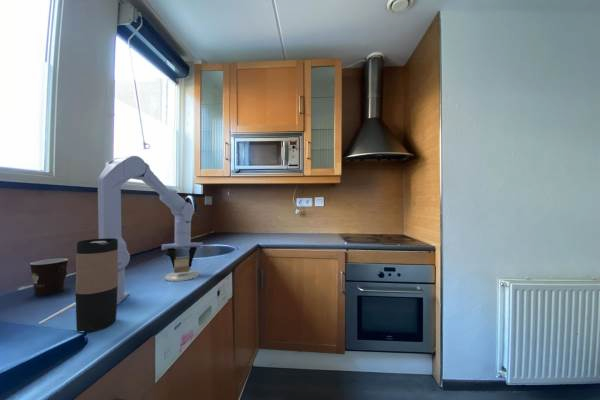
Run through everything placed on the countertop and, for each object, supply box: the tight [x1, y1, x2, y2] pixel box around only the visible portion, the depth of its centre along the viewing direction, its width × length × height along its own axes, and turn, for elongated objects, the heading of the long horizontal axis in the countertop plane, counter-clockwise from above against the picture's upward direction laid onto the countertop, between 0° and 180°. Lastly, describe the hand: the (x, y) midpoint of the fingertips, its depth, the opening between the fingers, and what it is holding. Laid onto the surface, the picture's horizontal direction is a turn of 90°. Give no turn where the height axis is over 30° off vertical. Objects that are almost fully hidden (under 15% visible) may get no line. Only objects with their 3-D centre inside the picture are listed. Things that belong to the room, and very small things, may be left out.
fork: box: [38, 301, 76, 324], centre depth 68 cm, size 3×20×2 cm, turn 6°
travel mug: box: [75, 238, 118, 334], centre depth 57 cm, size 8×8×20 cm
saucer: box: [164, 269, 200, 282], centre depth 95 cm, size 12×12×1 cm
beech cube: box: [173, 256, 191, 273], centre depth 95 cm, size 5×5×5 cm
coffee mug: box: [29, 257, 69, 297], centre depth 78 cm, size 12×9×10 cm
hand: (182, 266), depth 95 cm, fingers closed on beech cube, 5 cm apart
